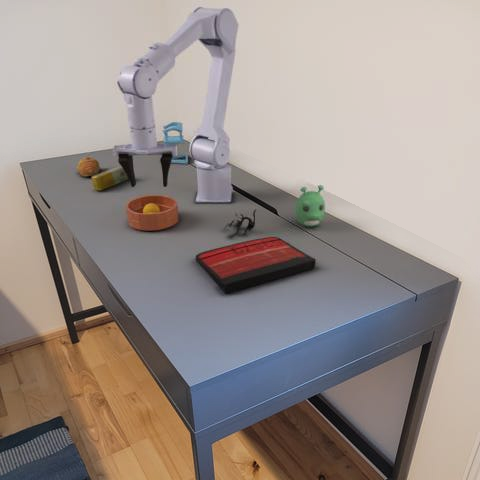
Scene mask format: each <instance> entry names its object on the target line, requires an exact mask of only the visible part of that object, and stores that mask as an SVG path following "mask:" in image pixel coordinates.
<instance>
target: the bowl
mask: <svg viewBox="0 0 480 480" xmlns="http://www.w3.org/2000/svg"><path fill="white" fill-rule="evenodd" d="M149 203H153V204H156V205H157V206H158V207H159V209H160V212H159V213H150V214H145V213H143V209H144V207H145V206H146V205H147V204H149ZM178 206H179V204H178V201H177V199H175V198H173V197H172V196H168V195H164V194H146V195H142V196H138V197H135V198H132V199H130V200H129V201H128V202H127V203H126V204H125V213H126V219H127V223H128V225H129V226H130V227H131V228H133V229H136V230H139V231H147V232H149V231H160V230H164V229H168V228H170V227H173V226H174V225H175V224H177V223H178V222H179V218H180V216H179V207H178Z"/></svg>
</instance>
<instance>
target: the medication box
mask: <svg viewBox="0 0 480 480" xmlns="http://www.w3.org/2000/svg"><path fill="white" fill-rule="evenodd" d="M91 181H92V185H93V190H94V191H103V190H106V189H108V188H111V187H113V186H116V185H118V184H120V183H123V182H125V181H129V178H128V176H127V174H126V172H125V171H124V169H123V168H122V166H121V165H118V166H116V167H113V168H111V169H107V170H105V171H102V172H99V173H97V174H96V175H92V176H91Z"/></svg>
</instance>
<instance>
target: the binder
mask: <svg viewBox="0 0 480 480" xmlns="http://www.w3.org/2000/svg"><path fill="white" fill-rule="evenodd" d="M195 261H196V263H197V265H199V266H200V267H201V268H202V269H203V270H204V272H205V273H206V274H207V275H208V276H209V277H210V278H211V279H212V281H213V282H214V283H215V284H216V285H217V286H218V288H219V289H220V290H221V291H222V293H224V294H229V293H232V292H236V291H239V290H243V289H247V288H250V287H251V288H252V287H253V286H257V285H261V284H265V283H268V282H271V281H274V280H278V279H281V278H285V277H289V276H292V275H296V274H299V273H302V272H306V271H309V270H312V269H315V267H316V261H317V260H316V259H315V258H314V257H312V256H310V255H309V254H306V253H305V252H304V251H301V250H300V249H298V248H297V247H295V246H294V245H292V244H290V243H289V242H286V240H284V239H282V238H280V237H278V236H267V237H261V238H255V239H250V240H246V241H241V242H237V243H233V244H229V245H225V246H220V247H217V248H213V249H210V250H205V251H202V252H200V253H197V254H196V255H195Z"/></svg>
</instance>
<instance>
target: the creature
mask: <svg viewBox="0 0 480 480" xmlns="http://www.w3.org/2000/svg"><path fill="white" fill-rule="evenodd" d="M256 211H257V209H256V208H255V209H254V210H253V213H252V217H253V220H252V218H250V217H248V216H244V215H243V214H242V213H239V215H240V216H241V217H240V216H238V214H237V213H235V216H236V220H234V219H233V220H232V221H231V222H230V223H228V224H226V225H225V226H224V228H223V229H224V230H226V228H227V227H229V228H231V227H232V225H233V224H234V223H235V225H234V227H236V228H237V231H236V232H235V233H234V234H232V235H230V238H233V237H234V236H236V235H238V234H239V231H240V229H241V228H242V229H245V230H244V233H242V235H243V236H246V233H247V231H249V232H250V231H251V230H253V229H254V228H255V226H256ZM238 218H239V219H240V220H239V219H238ZM245 220H248V224H247V225H246V227H244V226H243V227H242V225H243V223H244V221H245Z"/></svg>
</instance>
